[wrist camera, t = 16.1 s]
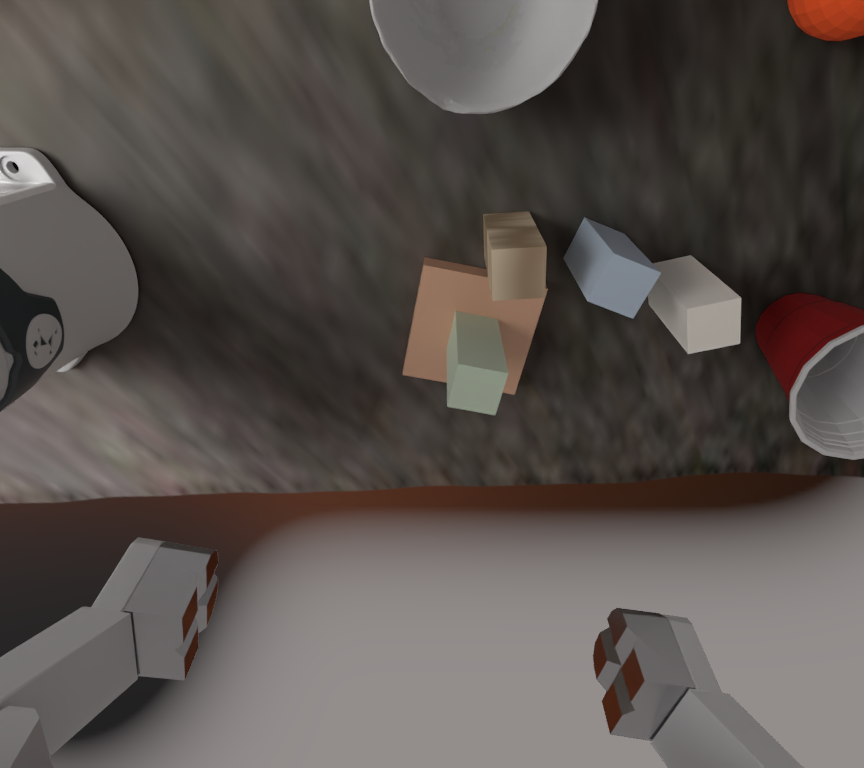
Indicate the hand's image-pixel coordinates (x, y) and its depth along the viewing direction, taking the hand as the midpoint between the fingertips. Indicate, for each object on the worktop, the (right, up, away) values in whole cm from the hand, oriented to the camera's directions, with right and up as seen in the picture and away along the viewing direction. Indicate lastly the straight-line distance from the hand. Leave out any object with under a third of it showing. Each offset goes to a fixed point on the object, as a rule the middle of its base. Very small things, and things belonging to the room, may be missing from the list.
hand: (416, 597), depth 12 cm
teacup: (+3, +31, +25) cm, 40 cm away
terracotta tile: (+4, +10, +37) cm, 39 cm away
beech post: (+6, +16, +33) cm, 38 cm away
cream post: (+20, +13, +35) cm, 42 cm away
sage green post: (+4, +9, +36) cm, 37 cm away
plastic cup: (+30, +10, +37) cm, 49 cm away
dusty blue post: (+13, +15, +34) cm, 39 cm away
